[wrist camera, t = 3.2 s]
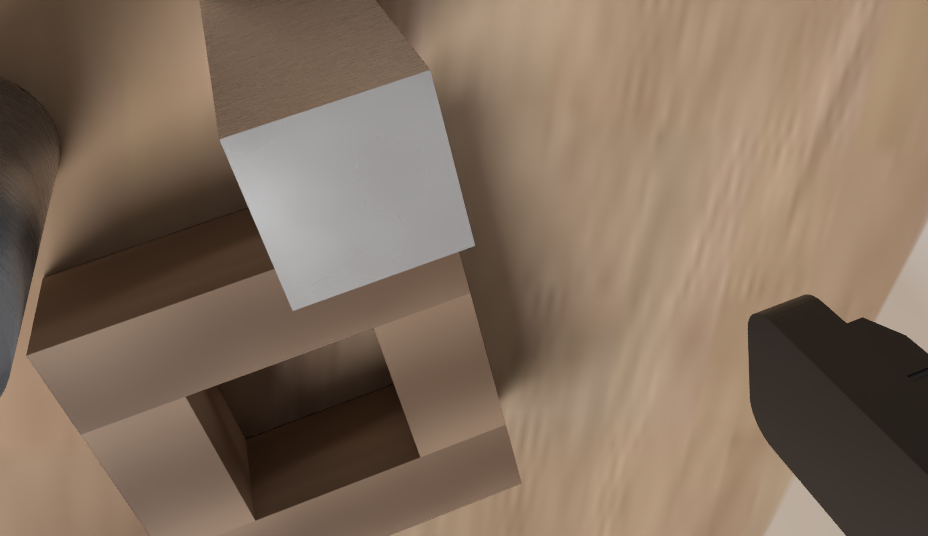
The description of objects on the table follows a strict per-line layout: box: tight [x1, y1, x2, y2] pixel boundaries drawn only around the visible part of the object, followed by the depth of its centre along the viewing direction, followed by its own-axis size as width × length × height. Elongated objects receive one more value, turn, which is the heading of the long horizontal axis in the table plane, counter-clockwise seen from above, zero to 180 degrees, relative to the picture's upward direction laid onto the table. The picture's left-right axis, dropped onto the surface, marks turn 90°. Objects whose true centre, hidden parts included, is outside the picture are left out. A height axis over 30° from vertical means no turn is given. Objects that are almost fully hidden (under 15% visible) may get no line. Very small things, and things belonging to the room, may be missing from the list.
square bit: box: [199, 0, 475, 311], centre depth 21 cm, size 4×4×10 cm
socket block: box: [26, 208, 521, 536], centre depth 29 cm, size 12×12×4 cm
